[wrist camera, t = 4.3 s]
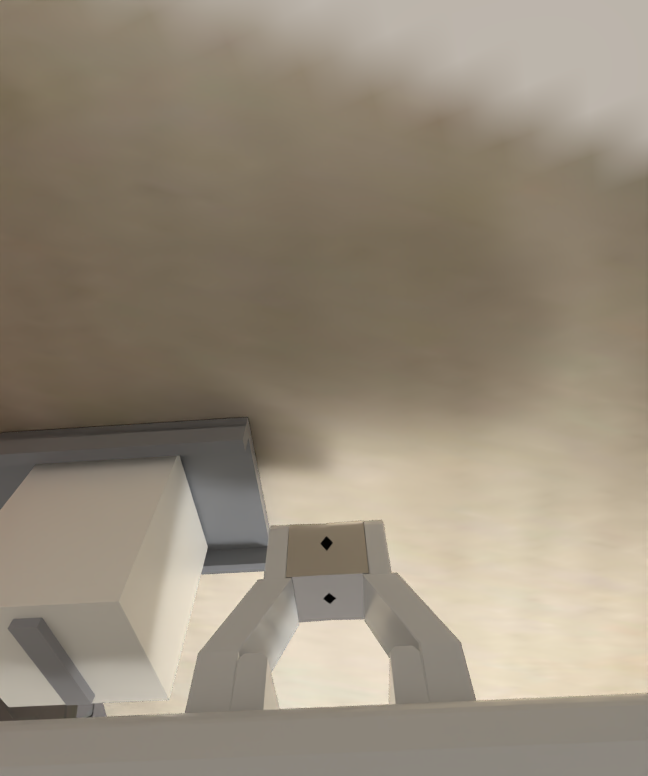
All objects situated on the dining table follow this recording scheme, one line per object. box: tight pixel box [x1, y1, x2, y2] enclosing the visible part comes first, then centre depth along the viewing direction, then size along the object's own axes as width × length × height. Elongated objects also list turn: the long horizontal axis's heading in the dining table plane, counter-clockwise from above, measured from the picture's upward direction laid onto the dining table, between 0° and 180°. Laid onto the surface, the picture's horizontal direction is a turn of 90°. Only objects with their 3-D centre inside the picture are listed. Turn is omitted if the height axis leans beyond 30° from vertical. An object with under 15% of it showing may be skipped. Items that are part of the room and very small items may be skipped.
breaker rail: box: [0, 417, 270, 574], centre depth 14 cm, size 13×5×2 cm, turn 94°
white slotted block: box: [0, 456, 208, 707], centre depth 12 cm, size 4×4×5 cm
